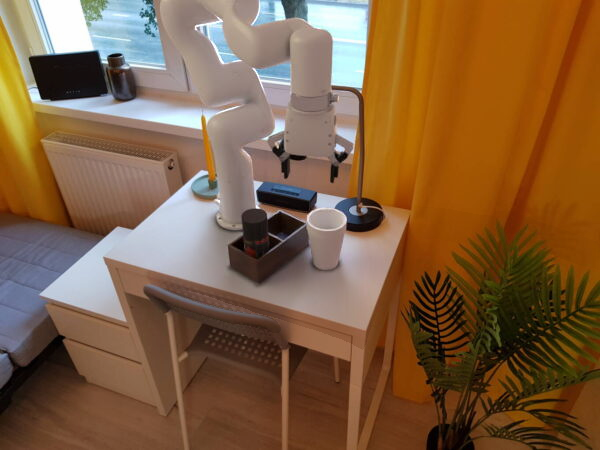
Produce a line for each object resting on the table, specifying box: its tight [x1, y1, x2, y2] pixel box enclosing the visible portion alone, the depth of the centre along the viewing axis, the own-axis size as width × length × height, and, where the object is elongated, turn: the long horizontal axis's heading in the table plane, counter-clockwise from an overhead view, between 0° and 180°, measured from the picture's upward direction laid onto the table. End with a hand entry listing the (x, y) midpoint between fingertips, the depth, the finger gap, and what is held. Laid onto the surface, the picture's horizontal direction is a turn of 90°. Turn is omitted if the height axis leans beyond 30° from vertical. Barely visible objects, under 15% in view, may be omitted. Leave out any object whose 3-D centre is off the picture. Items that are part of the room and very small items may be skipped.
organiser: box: [227, 209, 310, 285], centre depth 122 cm, size 10×19×7 cm, turn 141°
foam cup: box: [306, 207, 348, 271], centre depth 118 cm, size 10×9×13 cm
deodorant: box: [241, 208, 269, 260], centre depth 116 cm, size 6×6×15 cm
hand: (309, 177), depth 102 cm, fingers open, 9 cm apart
